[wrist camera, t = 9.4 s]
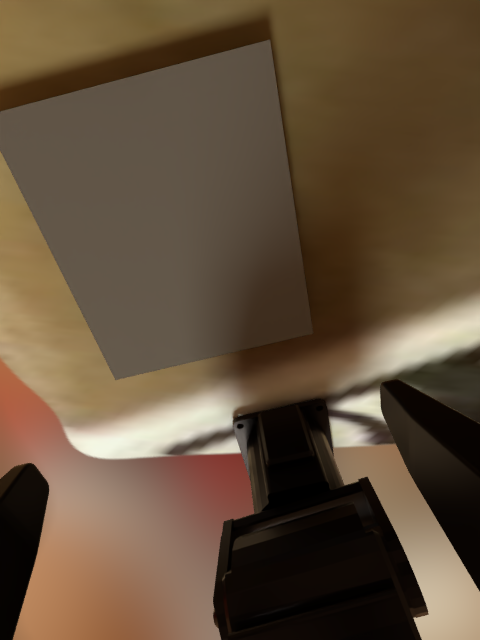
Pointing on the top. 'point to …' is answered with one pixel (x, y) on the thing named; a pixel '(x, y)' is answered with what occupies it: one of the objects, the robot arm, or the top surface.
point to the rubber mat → (169, 208)
